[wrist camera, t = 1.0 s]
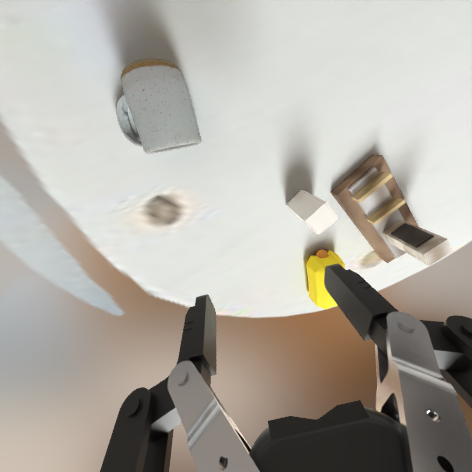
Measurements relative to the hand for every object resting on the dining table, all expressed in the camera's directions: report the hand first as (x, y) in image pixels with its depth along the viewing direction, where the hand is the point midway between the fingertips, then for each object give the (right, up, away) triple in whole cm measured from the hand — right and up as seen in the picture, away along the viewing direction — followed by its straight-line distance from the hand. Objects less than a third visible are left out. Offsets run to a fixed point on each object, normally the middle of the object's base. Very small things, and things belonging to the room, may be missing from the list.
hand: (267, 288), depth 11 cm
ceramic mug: (-13, +20, +13) cm, 28 cm away
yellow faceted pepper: (+20, -6, +33) cm, 39 cm away
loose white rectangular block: (+11, +10, +22) cm, 26 cm away
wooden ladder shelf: (+29, +8, +25) cm, 39 cm away
